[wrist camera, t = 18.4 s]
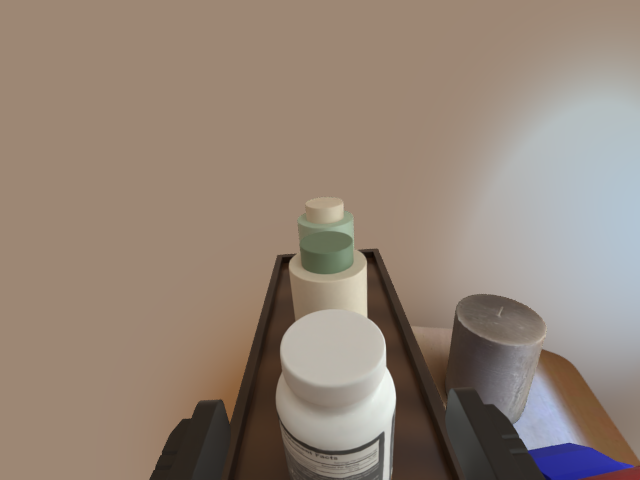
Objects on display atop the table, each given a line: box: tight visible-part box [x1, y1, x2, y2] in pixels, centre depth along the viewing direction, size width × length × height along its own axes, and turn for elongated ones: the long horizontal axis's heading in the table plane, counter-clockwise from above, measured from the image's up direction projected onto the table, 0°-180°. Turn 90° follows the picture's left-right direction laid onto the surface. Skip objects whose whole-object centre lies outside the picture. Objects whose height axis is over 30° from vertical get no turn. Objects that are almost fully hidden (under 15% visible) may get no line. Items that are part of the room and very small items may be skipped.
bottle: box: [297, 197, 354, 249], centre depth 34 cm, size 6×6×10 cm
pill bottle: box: [276, 309, 396, 480], centre depth 15 cm, size 6×6×10 cm
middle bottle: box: [289, 231, 367, 321], centre depth 25 cm, size 6×6×10 cm
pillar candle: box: [445, 294, 547, 425], centre depth 39 cm, size 10×10×15 cm
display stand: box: [221, 249, 466, 480], centre depth 30 cm, size 34×14×20 cm, turn 0°
